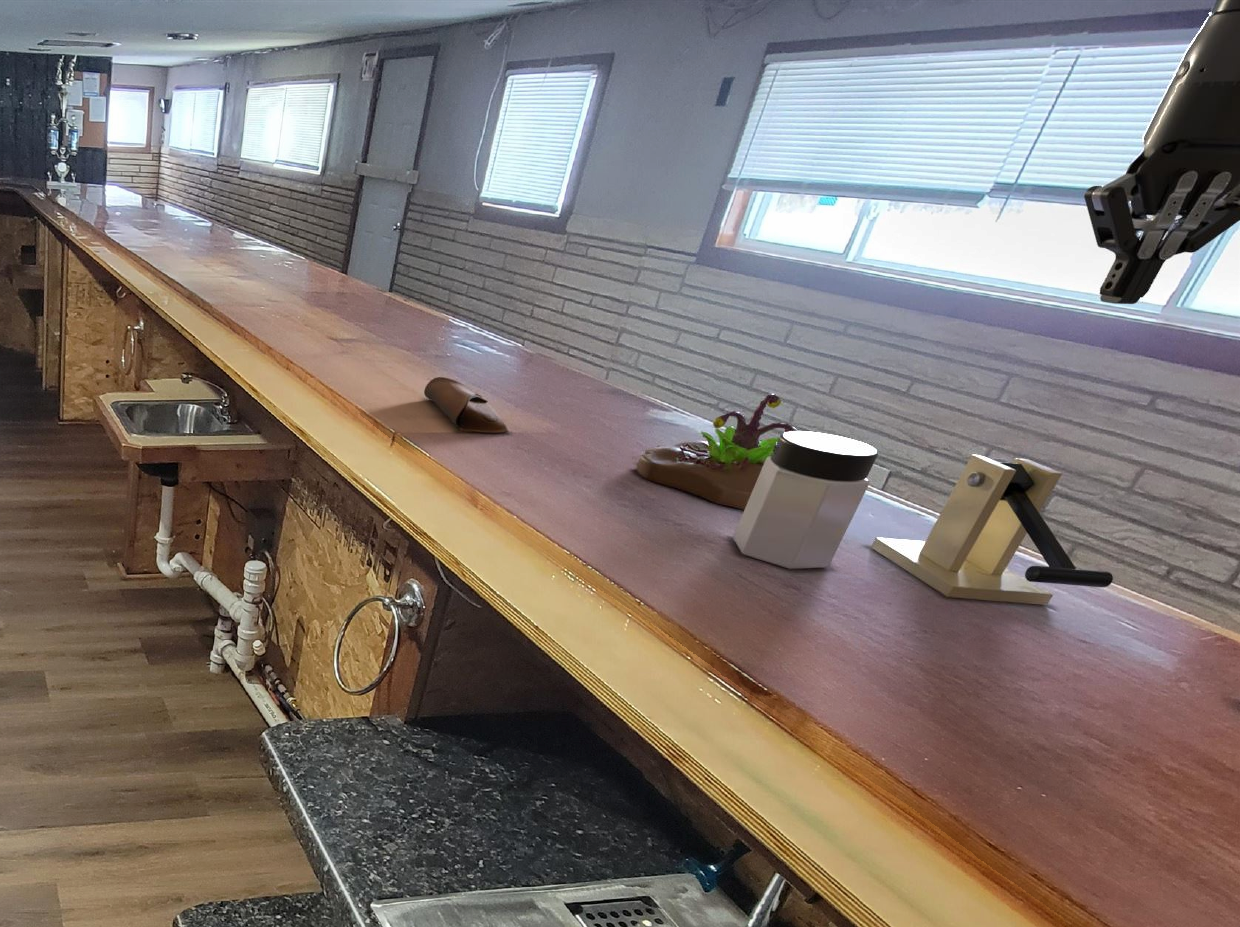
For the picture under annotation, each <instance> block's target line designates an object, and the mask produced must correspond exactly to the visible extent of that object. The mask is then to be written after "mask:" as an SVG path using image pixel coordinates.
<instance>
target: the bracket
mask: <svg viewBox="0 0 1240 927" xmlns="http://www.w3.org/2000/svg"><path fill="white" fill-rule="evenodd" d="M998 462H999V461H996V460H994V459H991V458H989V457H986V456H985V455H980V454H972V455H971V456H970V459H969V460H968V461H967V464H966V465H965V467H964V470H963V471H962V473H961V475H960V477H959V478H958V481H957V482H956V484H955V486H954V488H953V490H952V492H951V493H950V495H949V497H948V499H947V500H946V503H945V504H944V506H943V508H942V510H941V512H940V514H939V516H938V518H937V519H936V521H935V523H934V525H933V526H932V529H931V531H930V533H929V534H928V536H927V537H926V540H925V541H923V540H913V539H912V540H911V539H898V538H888V537H887V538H886V537H875V538H874V540H873V542H872V544H871V546H870V548H871V549H872V550H874V551H875V552H877V553H878V554H880V555H882V556H883V557H885V558H887V559H888V560H890V561H891V562H893V563H894V564H896V565H897V566H898V567H900V568H902V569H903V570H905V571H907V572H908V573H910V575H913V576H915V577H916V578H917V579H919V580H920V581H922V582H923V583H924V584H927V585H928V586H930V587H931V588H933V589H935V591H937V592H939V593H940V594H942V595H943V596H945V597H946V598H956V599H967V600H977V601H979V600H980V601H990V602H1002V603H1016V604H1028V605H1038V606H1039V605H1040V606H1047V605H1048V604H1049V603H1050V601H1051V599H1052V598H1053V596H1054V594H1053V593H1051V592H1050V591H1048V590H1046V589H1044V588H1042V586H1039V585H1037V584H1036V583H1035V582H1030V581H1028V580H1027V579H1026V578H1025V577H1023V576H1021V575H1020V574H1018V573H1016V572H1014V571H1012V570H1010V569H1009V568H1008V566H1009V564H1010V563H1011V560H1012V559H1013V557H1014V555H1015V554H1016V553H1017V550H1018V549H1019V547H1020V546H1021V544H1022V542H1023V540H1024V539H1025V537H1026V536H1027V535H1028V533H1027V532H1026V530H1025V529H1024V527H1023V525H1022V524H1021V522H1020V521H1019V519H1018V518H1017V516H1016V515H1015V513H1014V511H1013V510H1012V508H1011V507H1010V505H1009V504H1008V502H1007V501H1003V500H1000V498H1001V497H1002V495H1003V493H1004V491H1005V490H1006V488H1007V486H1008V484H1009V483H1010V481H1011V479H1012V477H1013V476H1014V474H1015V472H1016V470H1015V469H1012V468H1010V467H1008V466H1005V465H1003V464H1001V463H998ZM1013 463H1017V464H1022V465H1023V467H1024V468H1025V470H1026V471H1027V473H1028V474H1029V476H1030V477H1031V479H1032V480H1033V482H1034V483H1035V484H1034V485H1033V486H1032V487H1031V488H1030V489H1029V490H1027V491H1026V494H1027V495H1028V497H1029V498H1030V500H1031V501H1032V503H1033V504H1034V506H1035V507H1036V509H1037V510H1038V512H1039V513H1040V512H1041V511H1042V509H1043V507H1044V505H1045V504H1046V502H1047V500H1048V499H1049V497H1050V495H1051V494H1052V492H1053V491H1054V490H1055V488H1056V485H1057V484H1058V482H1059V480H1060V479H1061V478H1062V476H1063V473H1062V472H1060V471H1057V470H1055V469H1053V468H1050V467H1047V466H1045V465H1043V464H1040V463H1038V462H1036V461H1033V460H1030V459H1028V458H1022V457H1016V458H1015V459H1014V460H1013Z"/></svg>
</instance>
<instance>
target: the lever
mask: <svg viewBox="0 0 1240 927" xmlns="http://www.w3.org/2000/svg"><path fill="white" fill-rule="evenodd" d="M997 462H998V463H1001V464H1003V465H1005V466H1008V467H1010V468H1012V469H1015V470H1016V472H1015V474H1014V476H1013V477H1012V479H1011V481H1010V483H1009V484H1008V486H1007V488H1006V490H1005V491H1004V493H1003V495H1002V497H1001V498H1000V500H1003V501H1007V502H1008V504H1009V505H1010V507H1011V508H1012V510H1013V511H1014V513H1015V515H1016V516H1017V518H1018V519H1019V521H1020V522H1021V524H1022V525H1023V527H1024V529H1025V530H1026V532H1027V535H1028V537H1029V538H1030V539H1031V541H1032V543H1033V544H1034V546H1035V548H1036V549H1037V551H1038V552H1039V554H1040V555H1041V556H1042V558H1043V559H1044V561H1045V562H1046V565H1047V566H1044V565H1031V566H1029V567H1027V568H1026V570H1025V572H1024V578H1025V579H1027V580H1028V581H1030V582H1032V583H1043V584H1054V585H1065V586H1066V585H1067V586H1077V587H1079V586H1080V587H1090V588H1107V587H1109V586H1110V585H1111V584H1112V583H1113V580H1114V576H1113V574H1112V573H1111V572H1110V571H1106V570H1095V569H1081V568H1077V567H1076V566H1075V564H1074V563H1073V561H1072V560H1071V558H1070V556H1068V554H1067V553H1066V550H1064V547H1063V546H1062V544H1060V542H1059V540H1058V539H1057V537H1056V536H1055V535H1054V533H1053V532H1052V530H1051V528H1050V527H1049V525H1048V524H1047V522H1046V521H1045V520H1044V518H1043V516H1042V515H1041V514H1040V512H1038V510H1037V509H1036V507H1035V506H1034V504H1033V503H1032V501H1031V500H1030V498H1029V497H1028V495H1027V494H1026V491H1027V490H1029V489H1030V488H1031V487H1032V486H1033V485H1034V484H1035V483H1034V482H1033V480H1032V479H1031V477H1030V476H1029V474H1028V473H1027V471H1026V470H1025V468H1024V467H1023V465H1022V464H1017V463H1014V462H1002V461H1001V462H1000V461H997Z"/></svg>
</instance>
